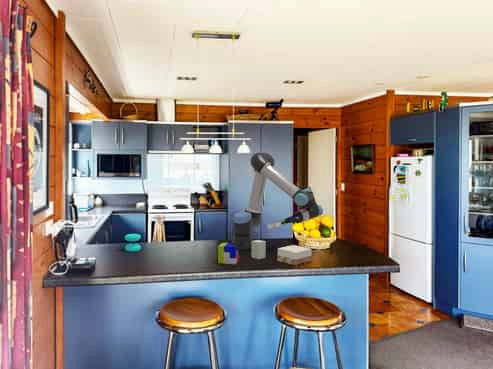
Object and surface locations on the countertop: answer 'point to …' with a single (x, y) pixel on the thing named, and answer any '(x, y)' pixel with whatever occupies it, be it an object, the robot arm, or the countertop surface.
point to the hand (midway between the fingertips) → (271, 226)
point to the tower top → (294, 252)
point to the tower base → (293, 260)
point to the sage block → (258, 249)
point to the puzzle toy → (228, 253)
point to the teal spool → (132, 246)
